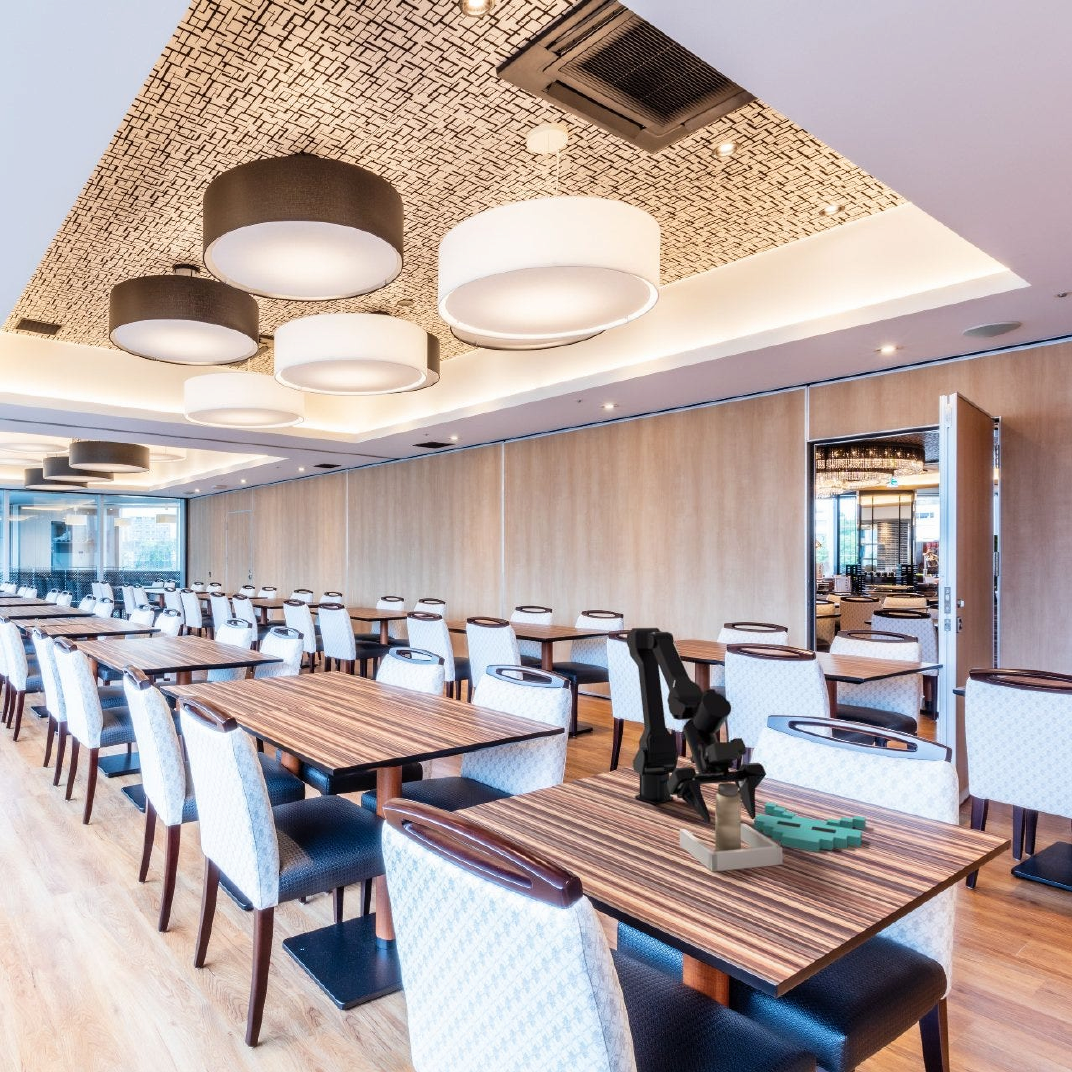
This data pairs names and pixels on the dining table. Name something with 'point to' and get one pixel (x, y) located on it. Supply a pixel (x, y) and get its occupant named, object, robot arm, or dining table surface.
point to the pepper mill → (727, 818)
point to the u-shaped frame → (735, 851)
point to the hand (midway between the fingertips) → (731, 820)
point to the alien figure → (809, 830)
